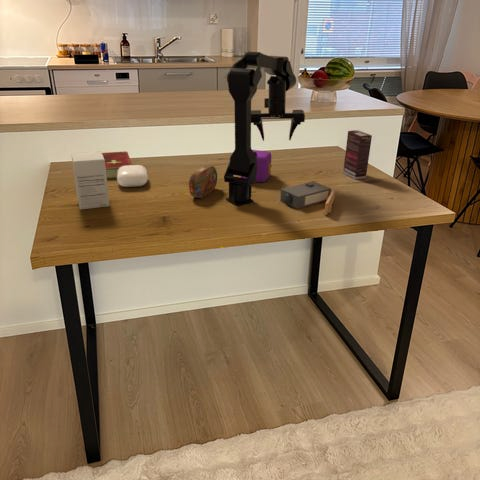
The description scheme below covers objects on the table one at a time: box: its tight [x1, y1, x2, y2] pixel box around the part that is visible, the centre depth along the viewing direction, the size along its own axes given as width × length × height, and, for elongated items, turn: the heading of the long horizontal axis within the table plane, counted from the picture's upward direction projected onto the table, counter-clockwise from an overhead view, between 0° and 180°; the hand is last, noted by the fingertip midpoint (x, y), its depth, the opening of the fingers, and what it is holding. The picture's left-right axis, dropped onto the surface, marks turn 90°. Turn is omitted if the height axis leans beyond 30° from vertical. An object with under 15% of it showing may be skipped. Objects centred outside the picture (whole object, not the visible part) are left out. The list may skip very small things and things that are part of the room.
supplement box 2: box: [342, 129, 373, 180], centre depth 174 cm, size 9×5×16 cm, turn 22°
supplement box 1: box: [71, 151, 110, 210], centre depth 144 cm, size 9×9×15 cm
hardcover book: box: [101, 150, 132, 179], centre depth 178 cm, size 12×21×4 cm, turn 17°
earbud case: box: [116, 164, 148, 188], centre depth 164 cm, size 10×13×5 cm
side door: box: [323, 188, 336, 216], centre depth 147 cm, size 14×2×4 cm, turn 161°
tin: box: [188, 165, 218, 199], centre depth 155 cm, size 15×3×8 cm, turn 155°
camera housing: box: [279, 181, 332, 210], centre depth 152 cm, size 15×8×4 cm, turn 126°
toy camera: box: [240, 149, 273, 183], centre depth 171 cm, size 11×14×10 cm
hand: (276, 140), depth 168 cm, fingers open, 9 cm apart
